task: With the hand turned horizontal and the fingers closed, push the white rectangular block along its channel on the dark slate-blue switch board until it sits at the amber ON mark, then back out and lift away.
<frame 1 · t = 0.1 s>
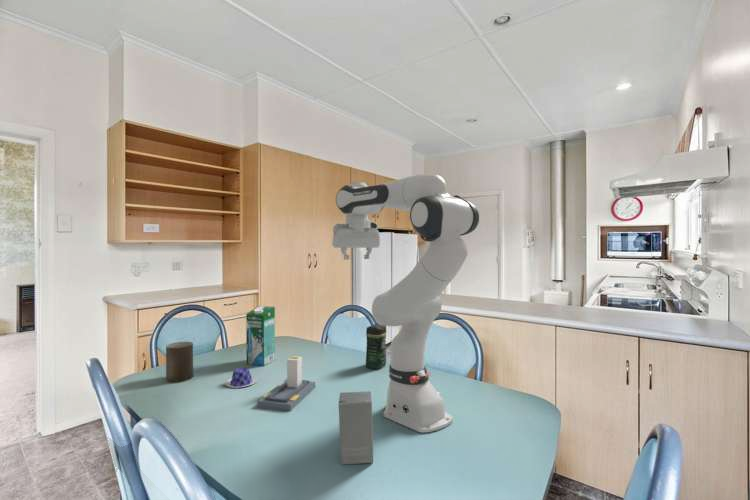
hand: (356, 259, 142), 48 cm above the table, tool pointing down, fingers open, 8 cm apart
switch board: (288, 396, 127), on the table
milk carton: (260, 362, 165), on the table
skincare box: (356, 458, 91), on the table
white rectangular block: (294, 371, 132), point 7 cm above the table, slide at 0.0 cm
coffee jar: (376, 366, 159), on the table
pillar candle: (179, 378, 145), on the table
pudding: (241, 383, 140), on the table
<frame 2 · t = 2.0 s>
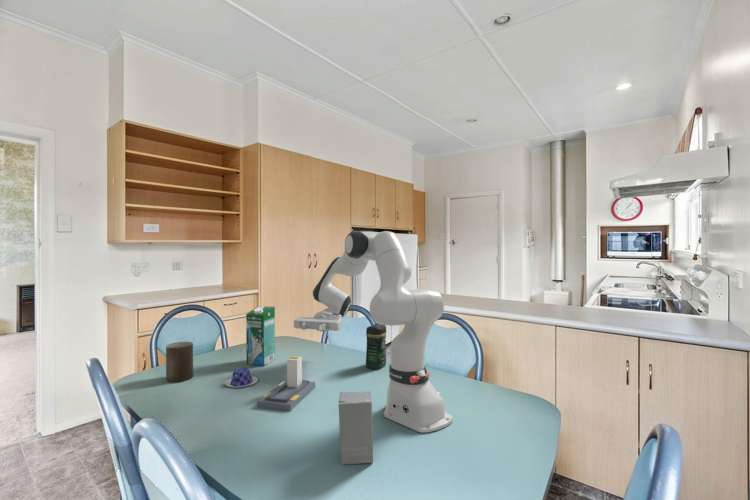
hand: (310, 328, 146), 20 cm above the table, tool horizontal, fingers open, 5 cm apart
nothing on the table moved.
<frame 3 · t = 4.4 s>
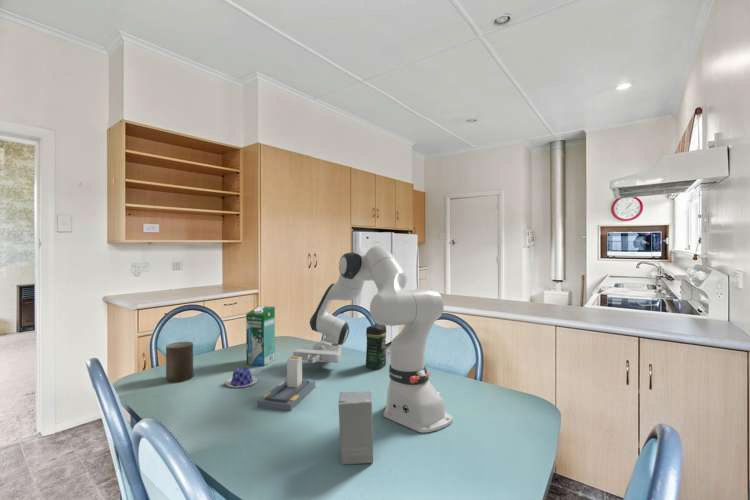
hand: (309, 360, 145), 7 cm above the table, tool horizontal, fingers closed
nothing on the table moved.
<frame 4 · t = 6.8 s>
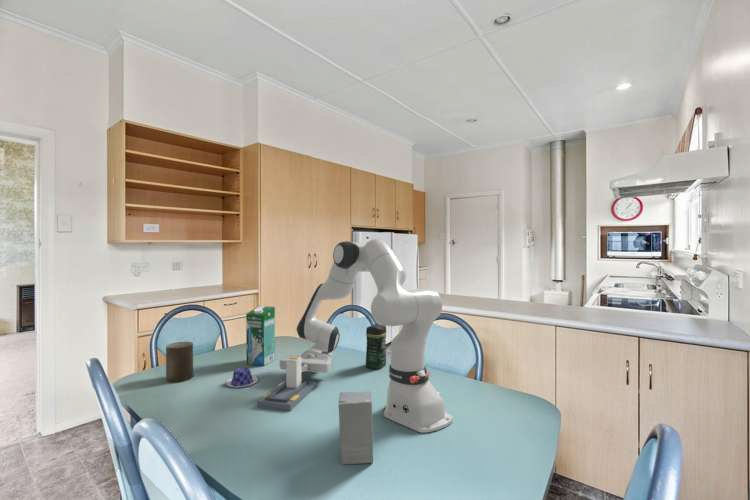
hand: (296, 370, 133), 7 cm above the table, tool horizontal, fingers closed, pressing on white rectangular block
white rectangular block: (294, 371, 132), point 7 cm above the table, slide at 0.5 cm, touching gripper
everything else where it was.
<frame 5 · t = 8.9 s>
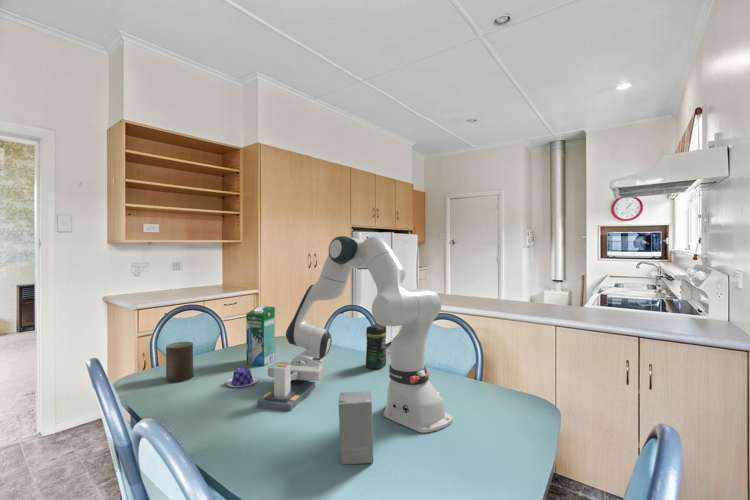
hand: (285, 379, 125), 7 cm above the table, tool horizontal, fingers closed, pressing on white rectangular block
white rectangular block: (282, 380, 123), point 7 cm above the table, slide at 9.2 cm, touching gripper
everything else where it was.
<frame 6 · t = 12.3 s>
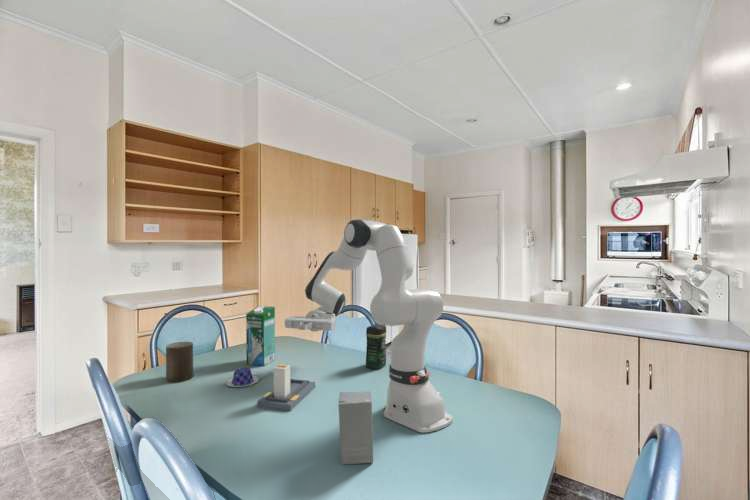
hand: (301, 327, 138), 22 cm above the table, tool horizontal, fingers closed
white rectangular block: (282, 380, 123), point 7 cm above the table, slide at 9.4 cm
everything else where it was.
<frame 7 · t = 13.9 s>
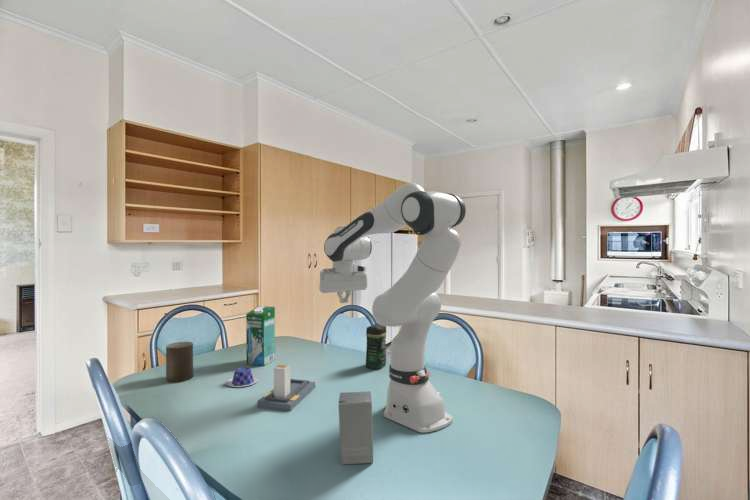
hand: (344, 302, 142), 31 cm above the table, tool pointing down, fingers closed
nothing on the table moved.
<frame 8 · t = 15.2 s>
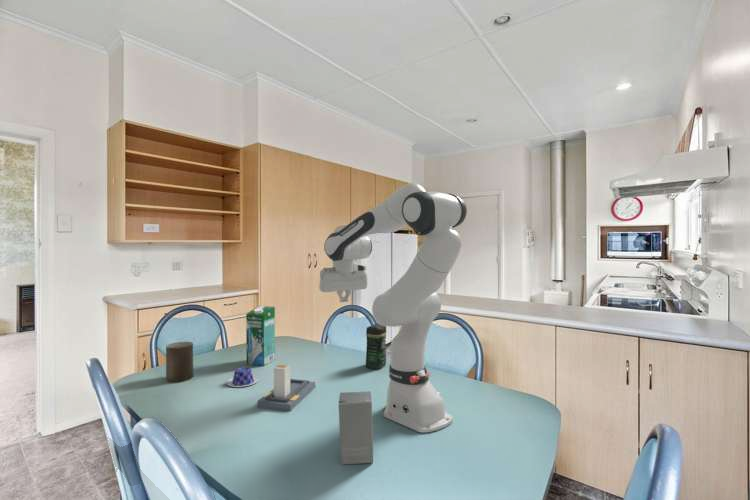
hand: (344, 301, 142), 31 cm above the table, tool pointing down, fingers closed
nothing on the table moved.
at the end: white rectangular block slide at 9.4 cm; white rectangular block touching nothing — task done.
